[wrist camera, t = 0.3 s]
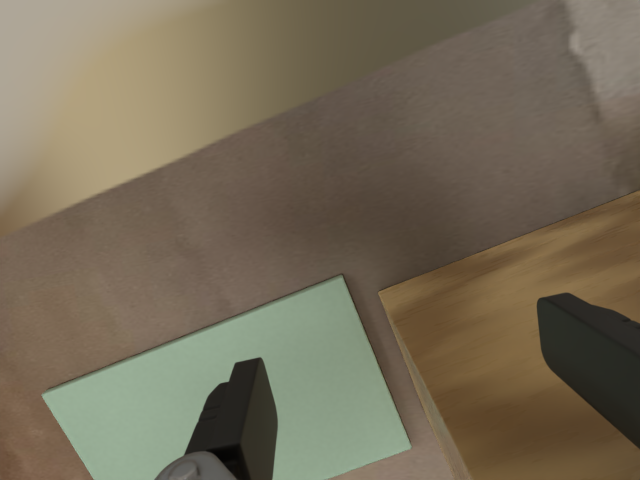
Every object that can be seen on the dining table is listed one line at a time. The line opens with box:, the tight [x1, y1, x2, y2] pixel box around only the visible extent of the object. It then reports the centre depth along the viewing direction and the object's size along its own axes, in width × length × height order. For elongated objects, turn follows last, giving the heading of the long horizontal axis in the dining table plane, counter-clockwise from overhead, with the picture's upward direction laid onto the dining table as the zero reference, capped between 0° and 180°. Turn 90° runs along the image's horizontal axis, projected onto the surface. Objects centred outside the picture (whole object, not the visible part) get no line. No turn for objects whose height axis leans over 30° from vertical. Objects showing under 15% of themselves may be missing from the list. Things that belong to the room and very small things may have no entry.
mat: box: [42, 275, 412, 480], centre depth 28 cm, size 22×14×1 cm, turn 112°
